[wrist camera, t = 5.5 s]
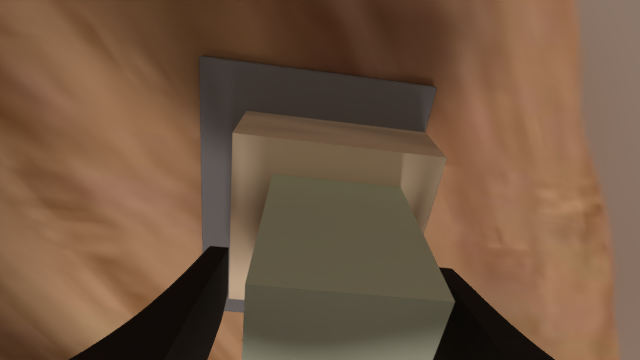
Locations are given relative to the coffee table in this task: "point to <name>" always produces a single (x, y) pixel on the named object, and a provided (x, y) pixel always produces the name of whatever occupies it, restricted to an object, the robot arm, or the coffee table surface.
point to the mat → (291, 100)
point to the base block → (321, 169)
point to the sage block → (341, 276)
